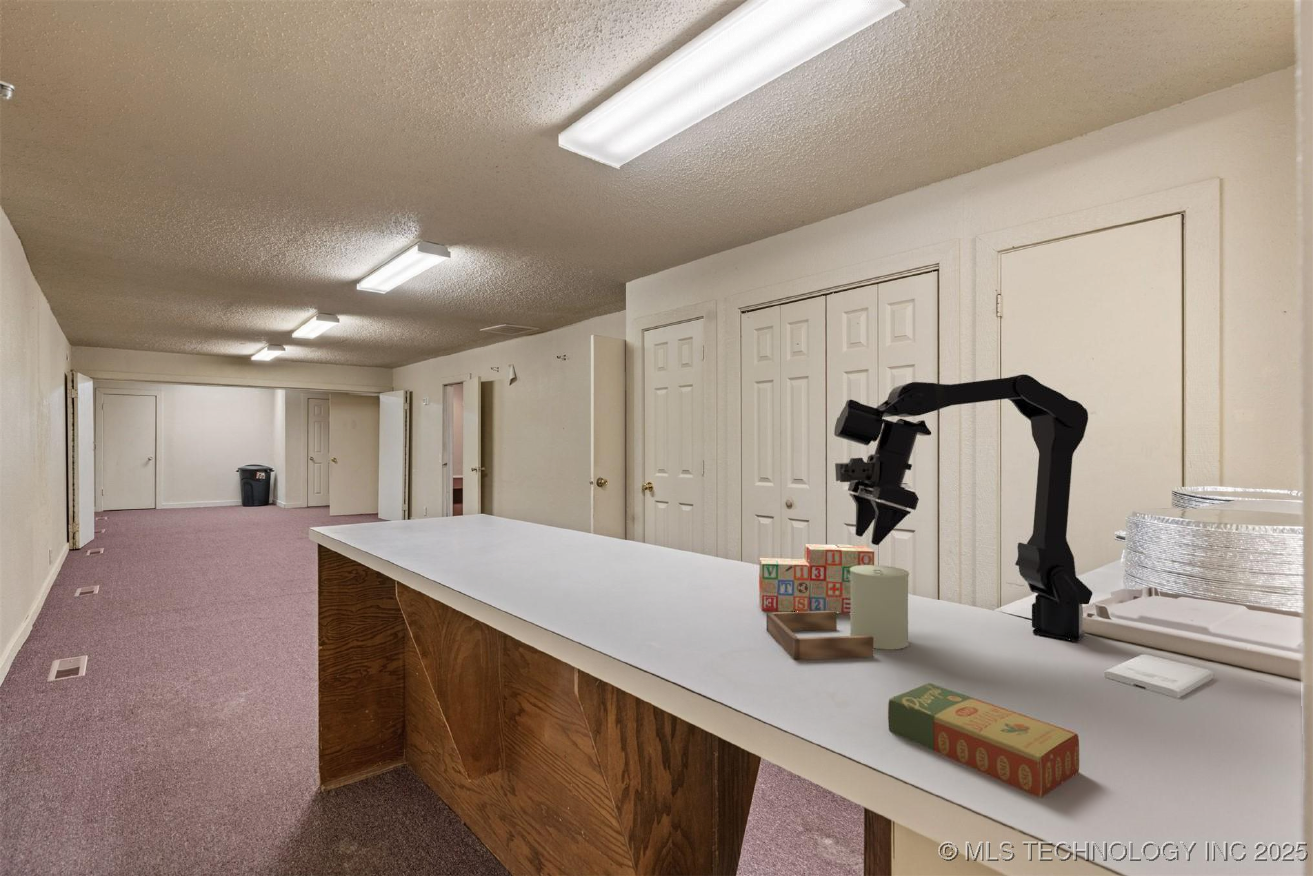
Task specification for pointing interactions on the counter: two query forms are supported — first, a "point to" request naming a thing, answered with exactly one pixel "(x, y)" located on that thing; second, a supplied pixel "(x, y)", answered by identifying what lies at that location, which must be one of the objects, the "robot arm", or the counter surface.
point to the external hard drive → (1160, 675)
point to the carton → (987, 737)
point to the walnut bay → (815, 646)
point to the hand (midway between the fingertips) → (866, 540)
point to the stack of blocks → (811, 579)
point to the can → (880, 605)
